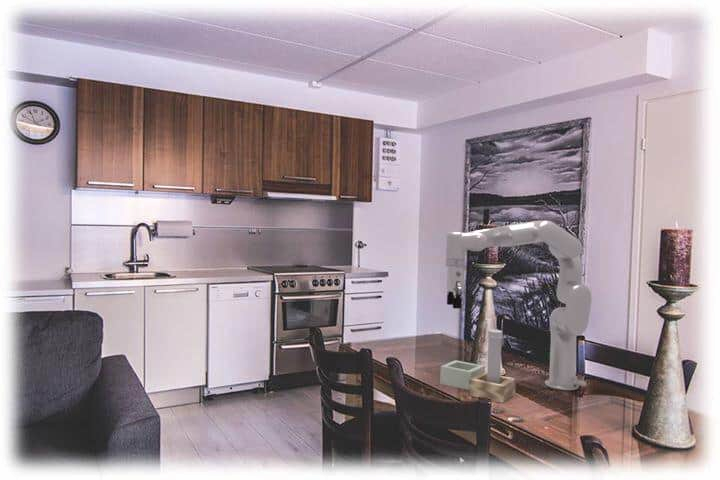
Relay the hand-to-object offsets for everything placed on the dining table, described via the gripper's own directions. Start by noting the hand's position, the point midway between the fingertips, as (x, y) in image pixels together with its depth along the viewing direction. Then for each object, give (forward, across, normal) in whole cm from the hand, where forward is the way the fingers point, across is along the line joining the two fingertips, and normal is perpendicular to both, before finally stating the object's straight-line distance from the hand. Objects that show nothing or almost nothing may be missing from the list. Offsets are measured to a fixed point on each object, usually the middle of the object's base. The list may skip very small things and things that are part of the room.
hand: (453, 306), depth 209 cm
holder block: (+31, +2, -5) cm, 32 cm away
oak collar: (+31, -12, -13) cm, 36 cm away
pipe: (+31, -12, -13) cm, 36 cm away
